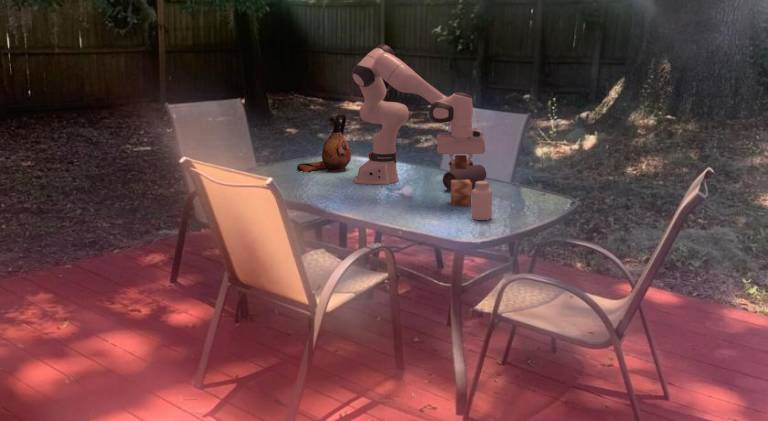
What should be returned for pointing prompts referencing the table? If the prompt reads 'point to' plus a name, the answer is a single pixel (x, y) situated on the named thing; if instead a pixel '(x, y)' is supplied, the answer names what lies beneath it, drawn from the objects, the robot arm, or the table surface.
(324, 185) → the table surface
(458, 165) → the walnut block
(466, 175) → the bluetooth speaker
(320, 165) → the sunglasses case
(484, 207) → the pill bottle
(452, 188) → the tower top
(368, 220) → the table surface
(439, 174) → the table surface
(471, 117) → the robot arm
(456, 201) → the block
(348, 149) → the ceramic jug
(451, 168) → the brown half-round wedge
